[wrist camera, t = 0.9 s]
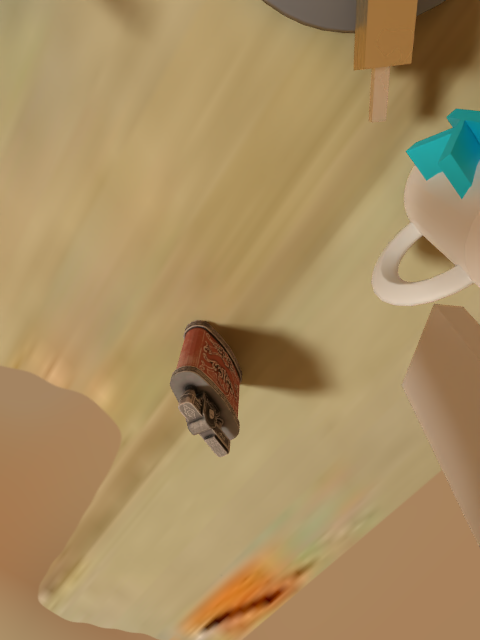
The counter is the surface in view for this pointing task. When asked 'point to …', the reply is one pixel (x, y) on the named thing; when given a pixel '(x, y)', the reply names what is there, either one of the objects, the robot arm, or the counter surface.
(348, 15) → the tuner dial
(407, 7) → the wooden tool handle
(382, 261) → the mug
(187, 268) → the counter surface
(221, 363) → the lighter
